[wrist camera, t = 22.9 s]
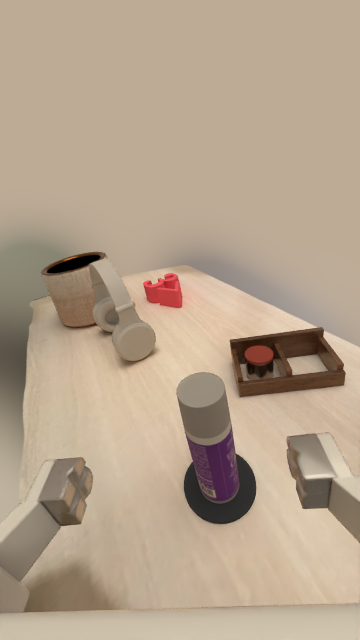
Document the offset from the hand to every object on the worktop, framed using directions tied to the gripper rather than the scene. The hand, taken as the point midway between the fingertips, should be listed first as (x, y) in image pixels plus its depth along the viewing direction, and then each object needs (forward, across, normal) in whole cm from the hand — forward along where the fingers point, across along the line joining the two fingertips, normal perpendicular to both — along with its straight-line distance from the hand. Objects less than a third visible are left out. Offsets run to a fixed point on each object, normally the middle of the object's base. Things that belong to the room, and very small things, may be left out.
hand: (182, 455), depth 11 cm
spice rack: (+30, -12, +23) cm, 40 cm away
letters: (+65, +10, +24) cm, 70 cm away
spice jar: (+30, -8, +23) cm, 39 cm away
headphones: (+46, +19, +24) cm, 55 cm away
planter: (+64, +32, +23) cm, 75 cm away
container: (+12, 0, +23) cm, 26 cm away
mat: (+12, 0, +23) cm, 26 cm away
